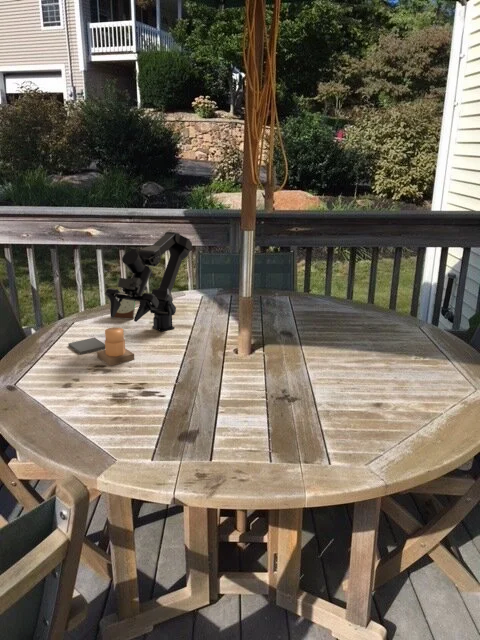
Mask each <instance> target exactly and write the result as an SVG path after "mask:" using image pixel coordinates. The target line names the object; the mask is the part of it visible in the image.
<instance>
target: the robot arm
mask: <svg viewBox="0 0 480 640" xmlns="http://www.w3.org/2000/svg"><path fill="white" fill-rule="evenodd" d="M192 248H193V243H192V241H191V239H190V238H187V237H186V236H184V235H181V234H180V233H179V232H177V231H166V232H164V235H163V236H161V237H160V238H159V239H158V240H156V242H154V243H153V244H152V245H150V246H146V247H145V246H144V247H143V248H141V249H140V250H138V248H133V247H132V248H131V249H130V250H129V251H127V252H125V253H124V254H123V256H122V257H121V260H122V263H123V264H124V266H125V267H126V268H127V270H128V271H129V272H130V273H131V274H132V276H131V278H130V277H128V278H127V277H125V278H124V277H119V278H118V283H117V288H113V287H108V288H106V290H105V292H104V295H105V296H106V298H107V297H108V299H109V300H110V302H111V313H110V318H111V319H114V318H113V317H114V316H115V314H116V312H117V311H118V309H119V307H120V305H121V304H120V302H122V299H125V300H133V301H135V302H139V306H138V308H137V311H136V313H135V314H134V319H133V321H134V322H137V321H139V320H140V319H141V318H142V317H143V316H145V315H146V314H147V313H148V312H150V314H154V315H153V317H152V318H153V319H152V320H153V321H152V322H153V324H152V327H151V328H153V329H155V330H157V331H158V332H165V331H169V330H173V329H175V326H173V316H175V315H176V312H177V307H176V306H175V304H174V302H173V300H174V298H173V296H172V295H173V294H172V291H173V288H174V285H175V282H176V279H177V276H178V274H179V271H180V269H181V268H180V267H181V264H182V261H183V260H184V259H185V258H187V257H188V256H189V254H190V253H191V250H192ZM167 251H169V254H170V255H169V258H168V262H167V264H166V267H165V270H164V273H163V275H162V279H161V281H160V283H159V287H158V288H153V289H152V291H151V293H149V292H144V291H147V290H148V287H147V284H148V282H149V279H150V277H154V273H153V271H152V269H151V268H150V267H157V266H158V265H159V264H160V263H161V261H162V256H163V255H164V254H165V253H166V252H167ZM118 288H121V291H123V292H125V294H123V293H120V292H121V291H119V289H118ZM108 299H107V300H108Z"/></svg>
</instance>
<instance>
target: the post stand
mask: <svg viewBox="0 0 480 640" xmlns="http://www.w3.org/2000/svg"><path fill="white" fill-rule="evenodd" d="M96 355H97V358H98V359H99V360H101V361H102V362H103V363H105V364H107V365H108V366H114V365H118V364H122V363H125V362H129V361H134V360H135V353H134V352H132V351H130V350H129V349H127V348H125V353H124V354H123V355H120V356H108V355H107V354H106V352H105V349H102V350H98V351H96Z"/></svg>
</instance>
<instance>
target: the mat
mask: <svg viewBox="0 0 480 640" xmlns="http://www.w3.org/2000/svg"><path fill="white" fill-rule="evenodd" d="M67 345H68V347H69V348H70V349H72V350H74V351H75V352H76V353H77V354H79V355H85V354H89V353H93V352H98V351H102V350H105V342H103V341H101V340H99V339H98V338H97V337H90V338H86V339H81V340H76V341H72V342H68V344H67ZM101 349H102V350H101Z"/></svg>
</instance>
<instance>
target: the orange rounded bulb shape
mask: <svg viewBox="0 0 480 640" xmlns="http://www.w3.org/2000/svg"><path fill="white" fill-rule="evenodd" d="M124 332H125V331H124V329H123V328H122V327H117V326H115V327H113V326H112V327H108V328H106V329H105V330H104V337H105V340H104V344H105V349H104V350H105V352H106V354H107V355H108V356H120V355H123V354H124V353H125V349H126V339H125V336H124V335H125V333H124Z"/></svg>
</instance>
